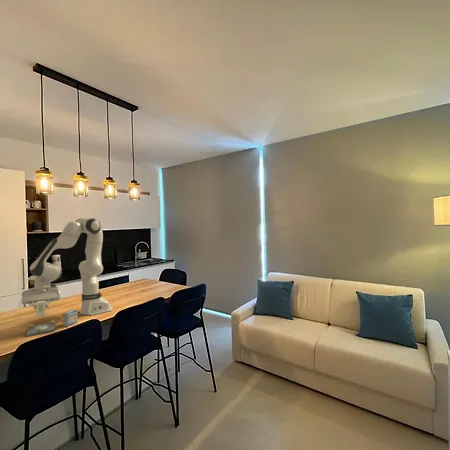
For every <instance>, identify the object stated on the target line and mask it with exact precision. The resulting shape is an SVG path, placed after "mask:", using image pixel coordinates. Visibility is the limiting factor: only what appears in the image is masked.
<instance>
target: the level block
mask: <svg viewBox="0 0 450 450" xmlns="http://www.w3.org/2000/svg"><path fill="white" fill-rule="evenodd" d="M45 304H47V302H46V300H44V301H37V303H36V305H37V309H36V314H35V315H36V318H38V317H45V316H46V310H47V309H46V308H47V307H46V308H45Z"/></svg>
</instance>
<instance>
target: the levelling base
mask: <svg viewBox="0 0 450 450" xmlns="http://www.w3.org/2000/svg"><path fill="white" fill-rule="evenodd" d="M55 331H56V322H55V320H54V319H53V320H49V322H48V323H43V324H42V323H41V324H37V325H34V323H29V324H28V327H27V330H26V334H25V338H26V337H33V336H37V335H44V334H49V333H55Z"/></svg>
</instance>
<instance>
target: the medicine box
mask: <svg viewBox="0 0 450 450" xmlns="http://www.w3.org/2000/svg"><path fill="white" fill-rule="evenodd" d="M77 323H78V309H69V310H68V311H65V312H62V327H67V328H68V327H70V326H73V325H74V324H77Z"/></svg>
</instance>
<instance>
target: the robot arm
mask: <svg viewBox="0 0 450 450" xmlns="http://www.w3.org/2000/svg"><path fill="white" fill-rule="evenodd" d="M101 226H102V225H101V222H100V221H99V220H98V219H97V218H93V217H92V218H90V217H85V218H84V217H83V218H78V219H76V220H73V221H69V222H68V223H66V225H65V227H64V228H63V230H62V231H61V233H60V235H58V237H56V238H53V239H52V240H50V242H49V243H47V245H46V246H45V248H44V249H43V250H42V251H41V252H40V254H39V256H38V257H37V258H36V259H35V260H34V261H33V262H32V263H31V265H30V266H29V273H31V276H34V285H33V289H29V290H28V289H27V290H24V291H22V292H21V304H22V305H32V307H33V309H34V310H37V301H44V300H46V304H45V308H48V307H49V305H50V304H51V302H54V301H55V302H56V301H59V300H61V291H60V289H59V285H58V284H57V283H51V282H54V281H56V280H58V279H60V278H61V277H62V274H63V268H62V267H61V266H60V265H57V264H53V263H50V262H47V260H48V259H49V257H50V256H51V254H52V253H53V251H56V250H58V249H69V248H70V249H71V248H73V247H74V246H75V245H76V244H77V241H78V240H79V238H80V235H81V234H83V233H84V234H86V235H87V239H86V245H85V250H84V253H85V260H83V261H81V262H80V263H79V265H78V270H79V272H80V279H81V284H82V291H81V292H82V293H81V307H80V311H79V314H80V315H84V316H85V315H87V316H94V315H98V314H102V313H108V312H112V311H113V306H111V305H110V301H108V300H107V299H106V298H105V297H103V296H104V295H103V293H102V292H99V286H100V284H99V283H100V282H99V280H98V278H97V276H100V275H101V274H102V273H103V271H104V266H103V264H102V249H103V242H104V234H103V230H101Z"/></svg>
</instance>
